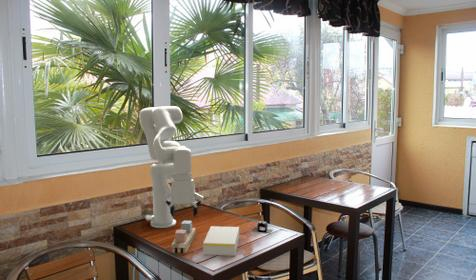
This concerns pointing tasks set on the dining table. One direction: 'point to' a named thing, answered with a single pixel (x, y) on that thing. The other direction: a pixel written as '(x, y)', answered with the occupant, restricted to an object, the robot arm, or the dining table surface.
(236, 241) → the dock
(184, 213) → the dining table surface
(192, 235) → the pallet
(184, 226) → the block
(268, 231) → the black piece
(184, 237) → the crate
